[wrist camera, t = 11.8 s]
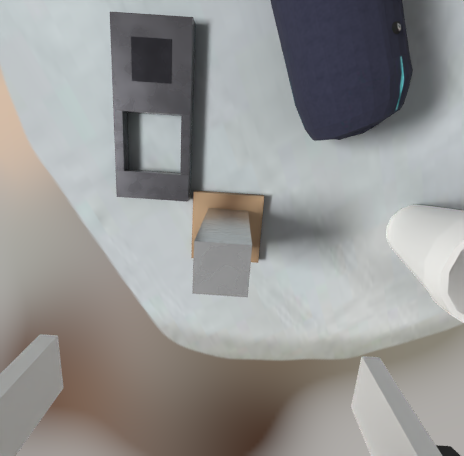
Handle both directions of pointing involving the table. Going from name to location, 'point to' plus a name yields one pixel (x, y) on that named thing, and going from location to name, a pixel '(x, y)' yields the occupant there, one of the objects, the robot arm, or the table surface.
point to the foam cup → (432, 251)
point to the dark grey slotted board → (152, 94)
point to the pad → (232, 202)
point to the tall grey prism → (223, 254)
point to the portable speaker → (344, 62)
